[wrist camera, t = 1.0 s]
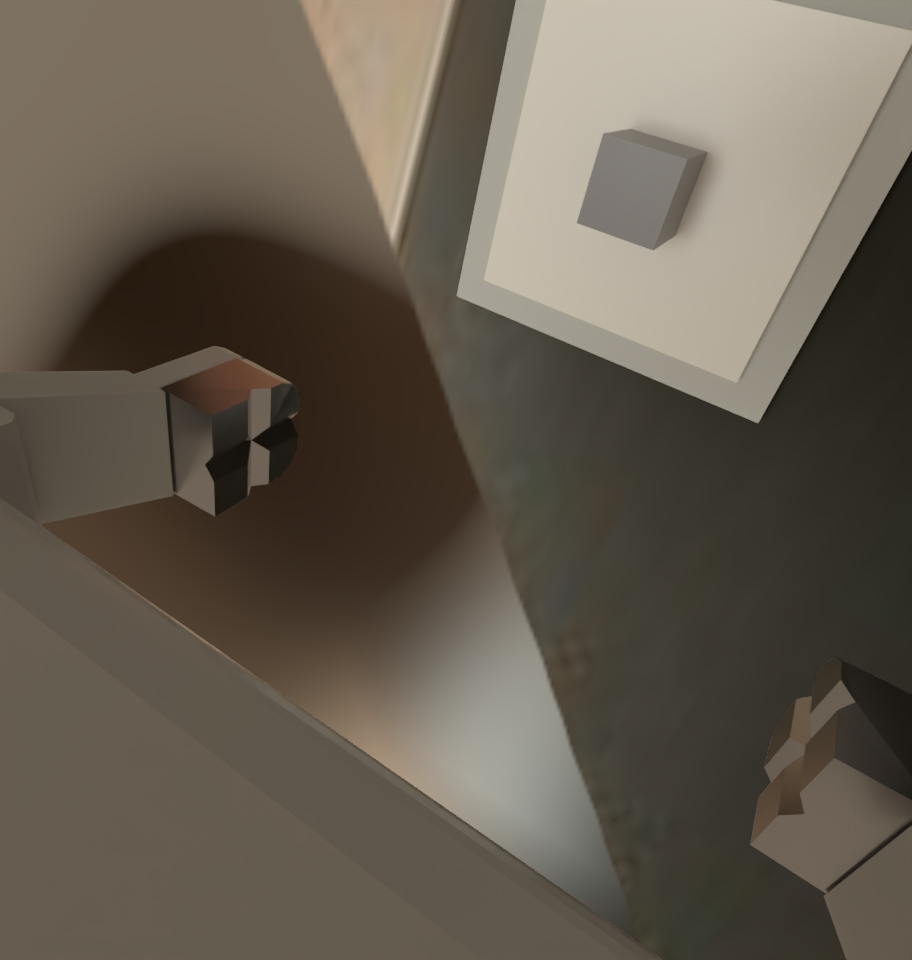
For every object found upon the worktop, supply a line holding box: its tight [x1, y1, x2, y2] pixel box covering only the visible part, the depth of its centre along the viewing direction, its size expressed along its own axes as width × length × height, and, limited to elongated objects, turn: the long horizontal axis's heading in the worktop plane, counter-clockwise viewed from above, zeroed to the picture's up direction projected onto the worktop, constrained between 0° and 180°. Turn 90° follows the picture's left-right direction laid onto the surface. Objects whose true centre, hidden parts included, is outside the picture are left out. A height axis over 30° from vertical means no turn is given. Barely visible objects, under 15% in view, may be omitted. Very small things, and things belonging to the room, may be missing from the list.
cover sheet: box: [484, 0, 912, 383], centre depth 32 cm, size 16×16×5 cm
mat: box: [457, 0, 912, 423], centre depth 34 cm, size 20×20×1 cm
